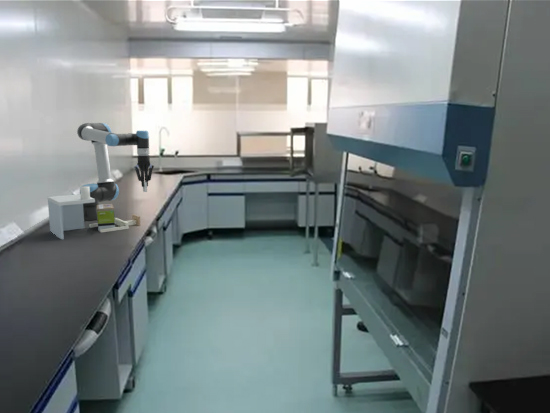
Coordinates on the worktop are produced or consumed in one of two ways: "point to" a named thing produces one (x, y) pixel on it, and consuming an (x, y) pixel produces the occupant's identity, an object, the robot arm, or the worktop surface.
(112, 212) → the tea box
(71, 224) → the panel
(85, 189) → the white rounded capsule
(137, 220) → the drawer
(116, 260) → the worktop surface
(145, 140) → the robot arm
